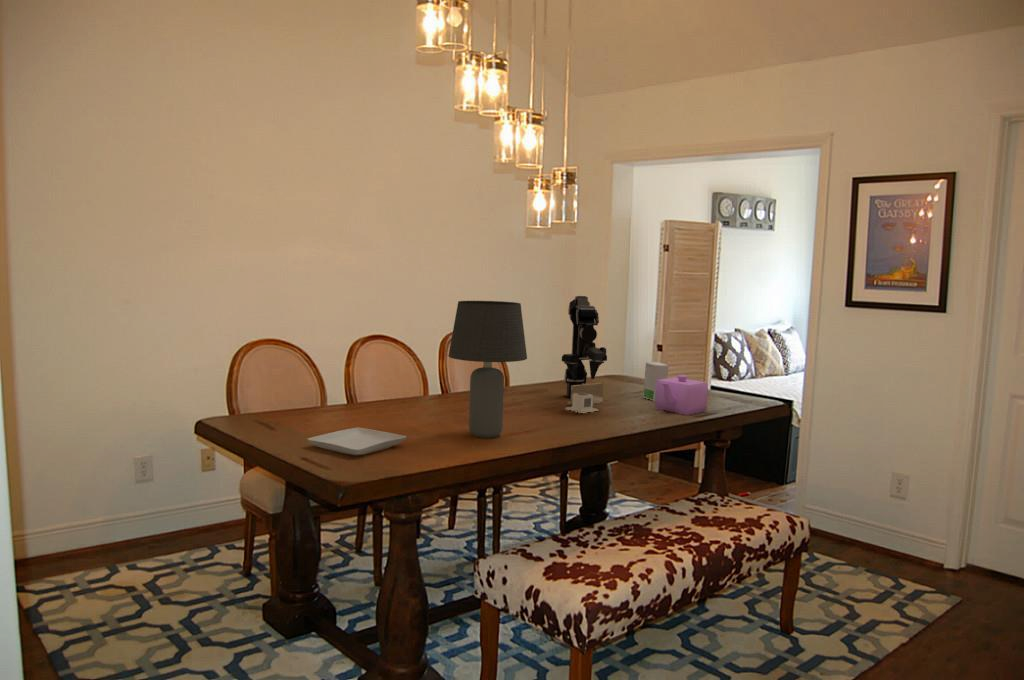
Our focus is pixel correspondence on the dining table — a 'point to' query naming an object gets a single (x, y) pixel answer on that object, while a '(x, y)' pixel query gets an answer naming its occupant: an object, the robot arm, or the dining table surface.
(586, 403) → the cream grey-paneled cube
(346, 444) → the salad plate
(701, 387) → the violet knobbed box
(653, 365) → the skincare box
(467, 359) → the lamp
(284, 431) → the dining table surface
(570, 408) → the cream square tile
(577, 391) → the oak screen
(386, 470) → the dining table surface
